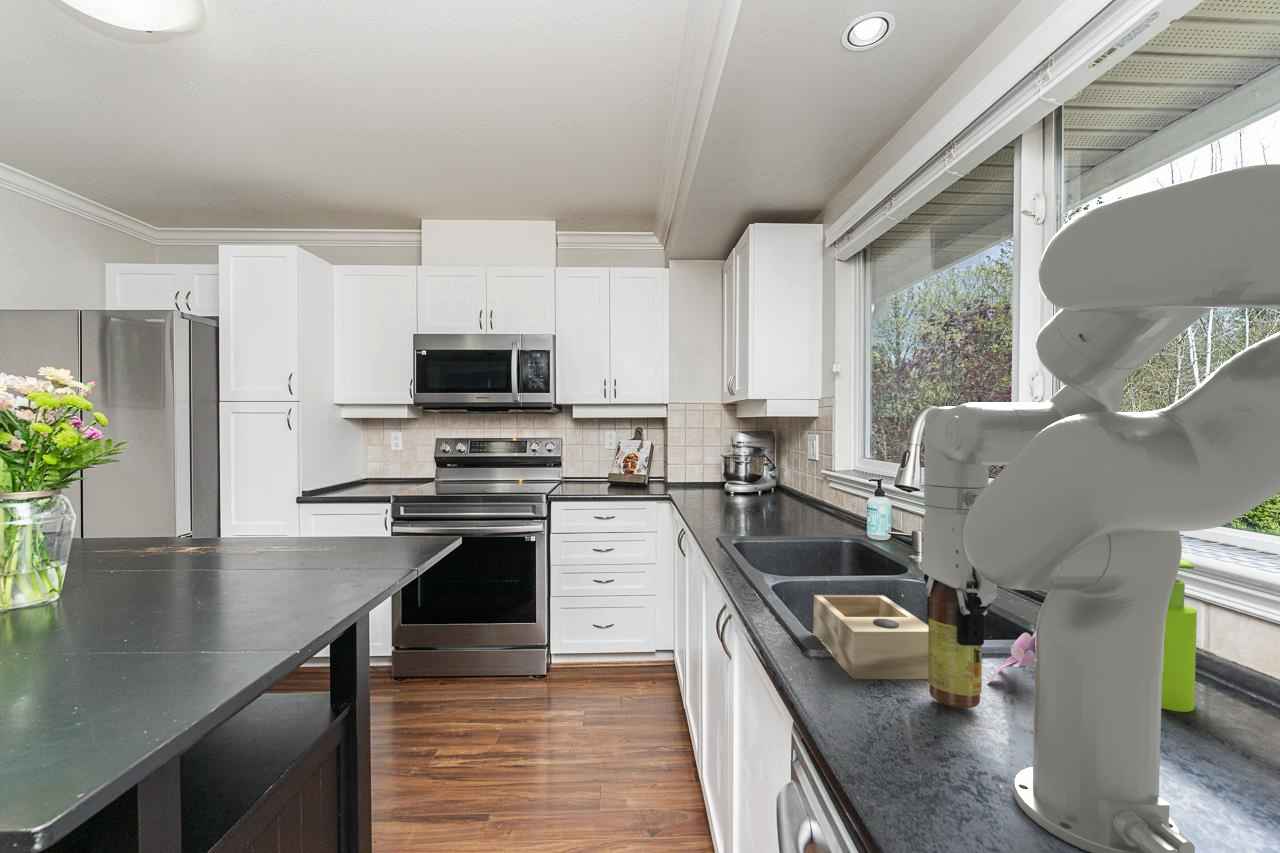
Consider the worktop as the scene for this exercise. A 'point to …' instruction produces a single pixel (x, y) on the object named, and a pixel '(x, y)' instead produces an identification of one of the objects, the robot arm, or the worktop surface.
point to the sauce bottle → (951, 653)
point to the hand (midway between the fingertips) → (954, 633)
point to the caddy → (872, 636)
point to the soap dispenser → (1179, 651)
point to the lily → (1020, 653)
